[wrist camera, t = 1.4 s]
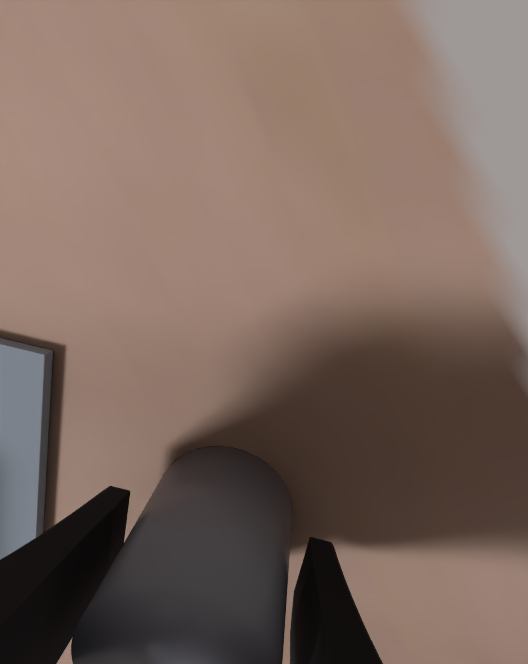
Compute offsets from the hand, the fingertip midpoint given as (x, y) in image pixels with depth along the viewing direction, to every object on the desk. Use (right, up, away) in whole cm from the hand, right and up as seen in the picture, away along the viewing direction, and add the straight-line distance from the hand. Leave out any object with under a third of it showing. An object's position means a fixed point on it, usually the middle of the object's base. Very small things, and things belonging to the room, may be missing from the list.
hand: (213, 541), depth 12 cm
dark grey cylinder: (0, 0, +1) cm, 2 cm away
